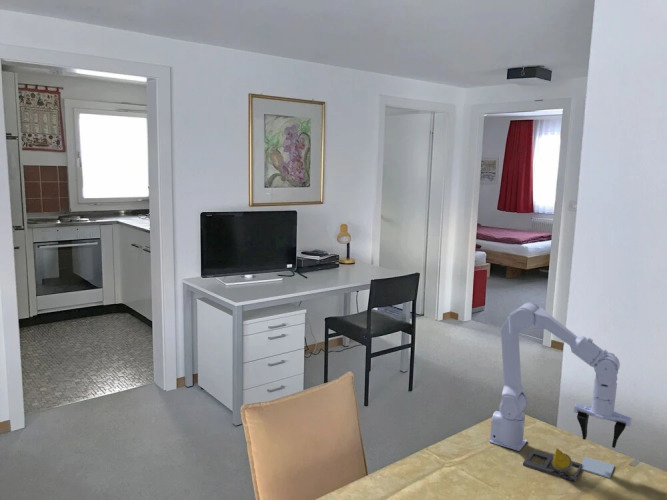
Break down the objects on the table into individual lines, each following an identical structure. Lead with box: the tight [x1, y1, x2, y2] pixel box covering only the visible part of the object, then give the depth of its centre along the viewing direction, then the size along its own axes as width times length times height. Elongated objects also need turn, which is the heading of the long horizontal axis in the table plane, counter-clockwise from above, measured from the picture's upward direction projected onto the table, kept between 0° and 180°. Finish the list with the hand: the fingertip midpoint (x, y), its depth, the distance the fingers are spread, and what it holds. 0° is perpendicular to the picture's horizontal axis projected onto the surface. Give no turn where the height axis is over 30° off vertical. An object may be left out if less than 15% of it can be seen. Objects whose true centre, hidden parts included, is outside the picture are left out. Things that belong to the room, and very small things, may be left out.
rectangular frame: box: [522, 449, 583, 483], centre depth 160 cm, size 14×10×1 cm
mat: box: [580, 456, 616, 479], centre depth 160 cm, size 8×8×1 cm
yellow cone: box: [550, 448, 573, 473], centre depth 156 cm, size 5×5×10 cm
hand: (599, 442), depth 159 cm, fingers open, 7 cm apart
